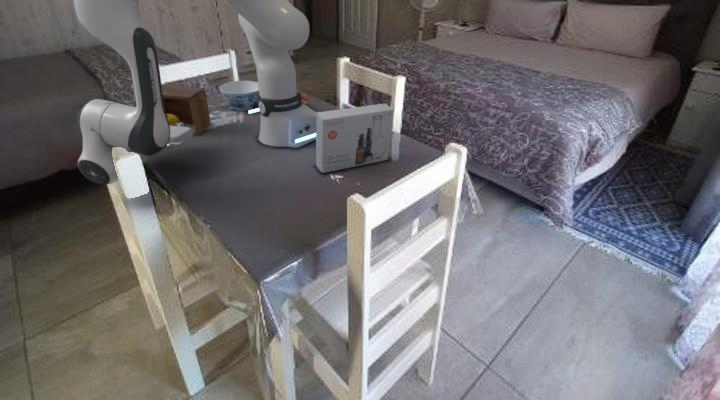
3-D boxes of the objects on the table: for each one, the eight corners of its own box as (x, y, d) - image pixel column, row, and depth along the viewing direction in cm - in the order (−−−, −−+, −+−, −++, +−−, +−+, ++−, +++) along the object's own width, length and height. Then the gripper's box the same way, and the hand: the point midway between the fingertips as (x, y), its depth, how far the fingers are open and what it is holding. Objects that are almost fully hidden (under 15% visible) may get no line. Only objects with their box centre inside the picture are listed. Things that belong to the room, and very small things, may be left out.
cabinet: (169, 120, 133) (160, 83, 126) (211, 124, 131) (204, 87, 125) (153, 131, 125) (142, 92, 118) (197, 135, 124) (189, 97, 117)
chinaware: (272, 106, 148) (270, 85, 144) (243, 118, 137) (240, 96, 133) (243, 98, 154) (241, 78, 150) (213, 108, 143) (209, 87, 139)
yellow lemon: (172, 145, 109) (165, 118, 105) (155, 141, 111) (147, 114, 107) (189, 137, 114) (183, 111, 110) (172, 132, 116) (166, 107, 112)
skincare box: (323, 174, 106) (322, 119, 97) (315, 166, 110) (314, 111, 101) (389, 160, 115) (394, 108, 106) (380, 152, 119) (384, 101, 110)
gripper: (174, 136, 96) (201, 116, 107) (97, 128, 98) (132, 109, 109) (179, 159, 99) (205, 137, 111) (105, 150, 101) (138, 130, 113)
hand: (168, 123), depth 110 cm, fingers closed on yellow lemon, 6 cm apart
